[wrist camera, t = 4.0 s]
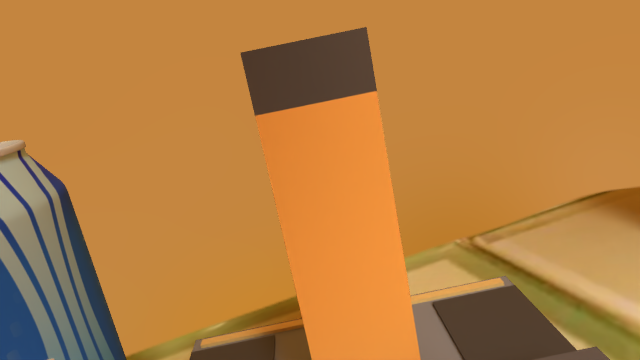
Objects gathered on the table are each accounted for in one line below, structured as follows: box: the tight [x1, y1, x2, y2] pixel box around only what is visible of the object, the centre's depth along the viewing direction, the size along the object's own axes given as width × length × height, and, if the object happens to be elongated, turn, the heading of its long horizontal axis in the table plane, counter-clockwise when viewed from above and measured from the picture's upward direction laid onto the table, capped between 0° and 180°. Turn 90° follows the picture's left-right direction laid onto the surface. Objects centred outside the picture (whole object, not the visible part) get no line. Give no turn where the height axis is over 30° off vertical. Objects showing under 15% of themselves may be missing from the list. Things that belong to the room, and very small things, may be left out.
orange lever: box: [241, 27, 421, 360], centre depth 19 cm, size 4×4×15 cm
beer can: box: [0, 140, 126, 360], centre depth 21 cm, size 8×8×16 cm
